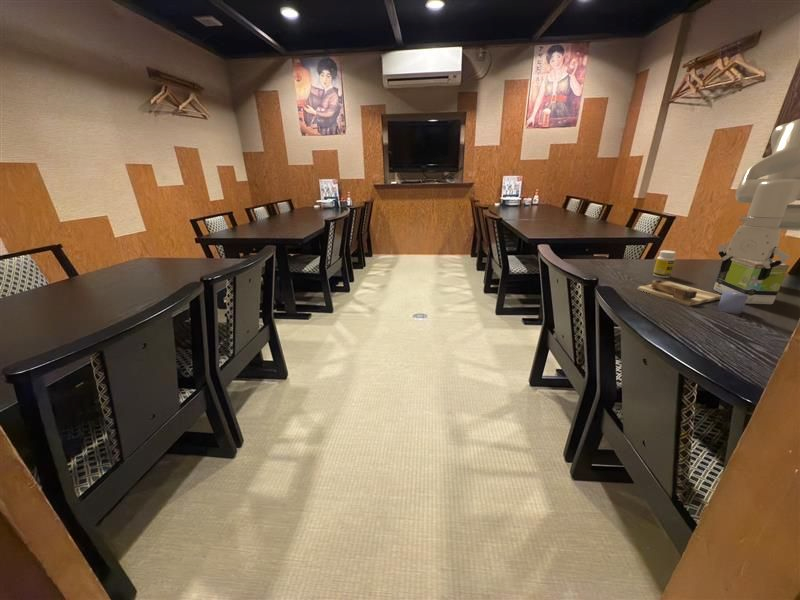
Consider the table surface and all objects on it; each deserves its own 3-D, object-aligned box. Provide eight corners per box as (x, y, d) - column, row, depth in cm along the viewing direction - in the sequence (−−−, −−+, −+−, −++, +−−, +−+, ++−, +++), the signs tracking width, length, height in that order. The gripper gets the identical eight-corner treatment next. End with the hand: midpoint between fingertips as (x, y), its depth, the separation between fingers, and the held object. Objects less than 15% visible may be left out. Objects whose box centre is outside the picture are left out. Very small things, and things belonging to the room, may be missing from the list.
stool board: (667, 283, 136) (670, 273, 134) (721, 298, 119) (725, 286, 118) (637, 289, 131) (640, 278, 130) (688, 306, 114) (692, 293, 113)
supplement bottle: (665, 278, 142) (673, 254, 138) (649, 275, 147) (656, 251, 143) (672, 276, 145) (680, 251, 141) (656, 273, 150) (663, 249, 146)
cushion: (724, 305, 114) (730, 289, 111) (745, 312, 108) (752, 295, 106) (713, 308, 112) (718, 291, 110) (734, 315, 107) (740, 297, 104)
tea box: (774, 305, 113) (791, 264, 107) (740, 303, 115) (755, 263, 109) (741, 290, 126) (755, 253, 121) (711, 289, 128) (724, 253, 123)
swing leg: (695, 297, 116) (698, 289, 115) (688, 299, 116) (690, 291, 114) (655, 285, 130) (657, 278, 129) (648, 286, 129) (650, 279, 128)
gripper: (720, 220, 106) (703, 270, 112) (794, 227, 90) (770, 284, 96) (734, 219, 108) (718, 268, 114) (809, 225, 92) (785, 281, 99)
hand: (742, 275), depth 105 cm, fingers open, 9 cm apart
